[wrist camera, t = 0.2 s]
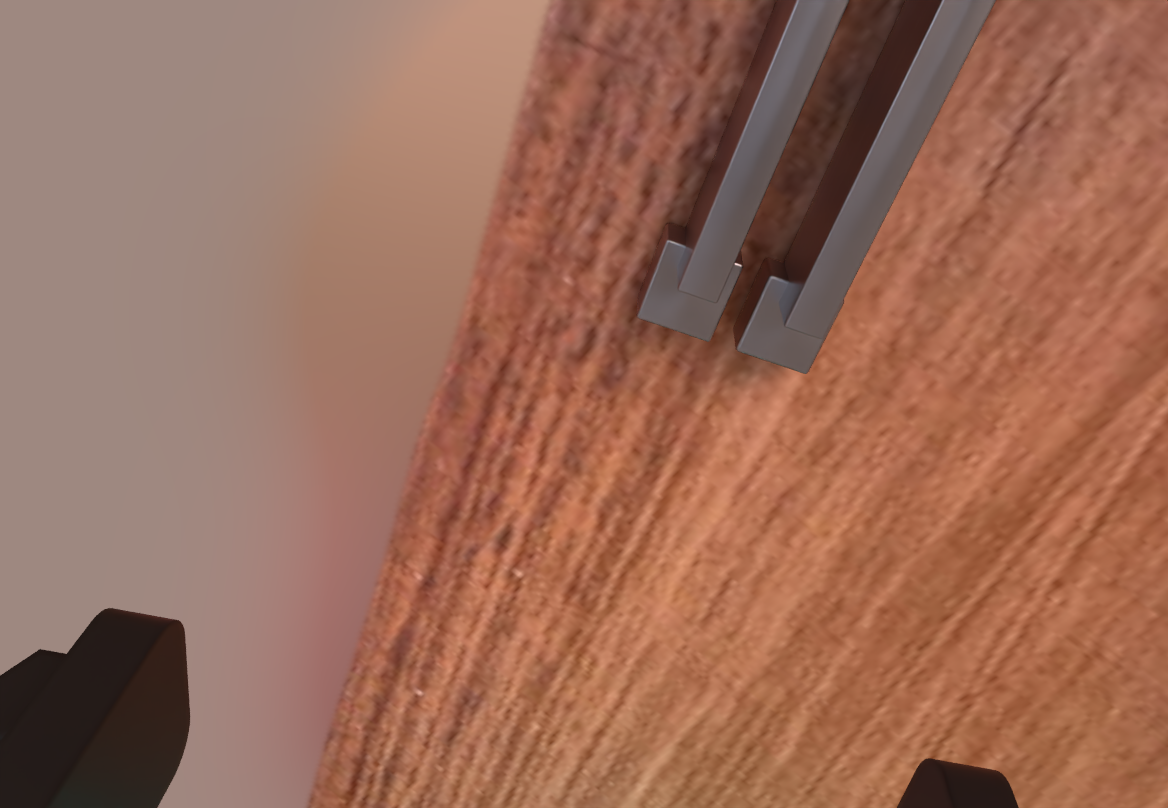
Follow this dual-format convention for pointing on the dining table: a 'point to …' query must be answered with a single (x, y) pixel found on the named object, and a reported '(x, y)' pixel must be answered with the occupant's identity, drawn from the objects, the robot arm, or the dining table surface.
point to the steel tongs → (845, 196)
